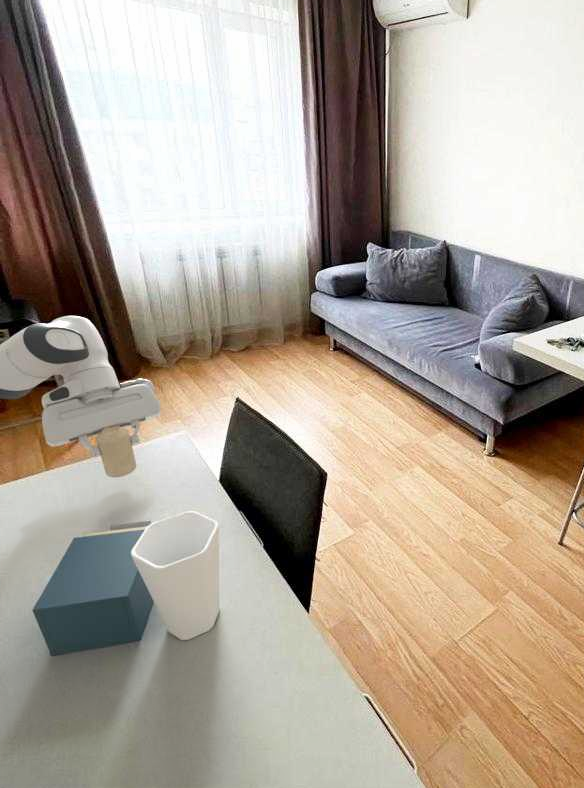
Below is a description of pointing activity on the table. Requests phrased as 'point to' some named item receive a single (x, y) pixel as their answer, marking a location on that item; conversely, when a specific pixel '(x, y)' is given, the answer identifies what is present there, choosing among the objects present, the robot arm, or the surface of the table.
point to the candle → (116, 451)
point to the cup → (182, 571)
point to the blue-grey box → (94, 596)
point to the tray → (123, 527)
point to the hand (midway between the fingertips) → (116, 449)
